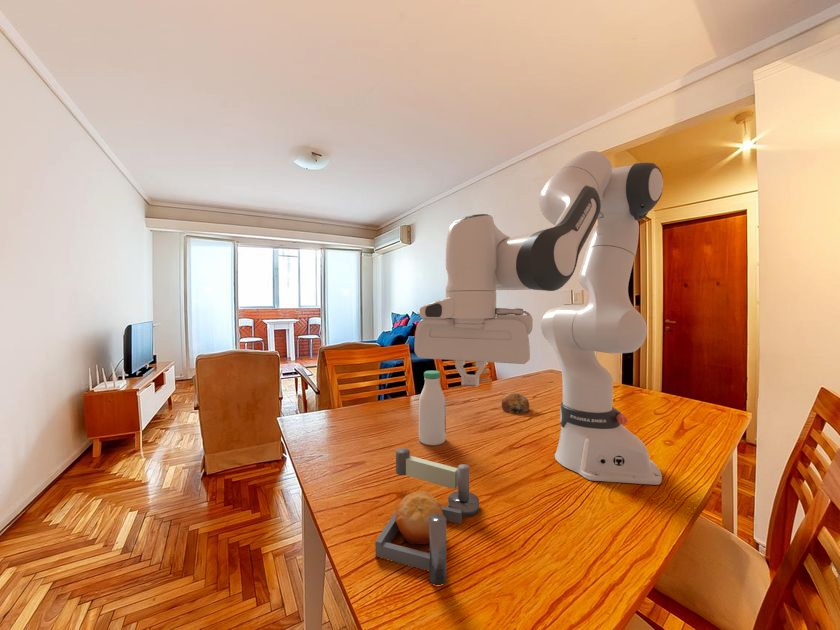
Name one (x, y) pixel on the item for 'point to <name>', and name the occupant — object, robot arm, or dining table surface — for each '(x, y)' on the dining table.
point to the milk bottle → (432, 411)
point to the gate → (434, 472)
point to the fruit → (417, 516)
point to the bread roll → (515, 403)
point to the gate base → (464, 504)
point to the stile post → (437, 549)
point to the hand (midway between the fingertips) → (470, 385)
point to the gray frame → (404, 553)
